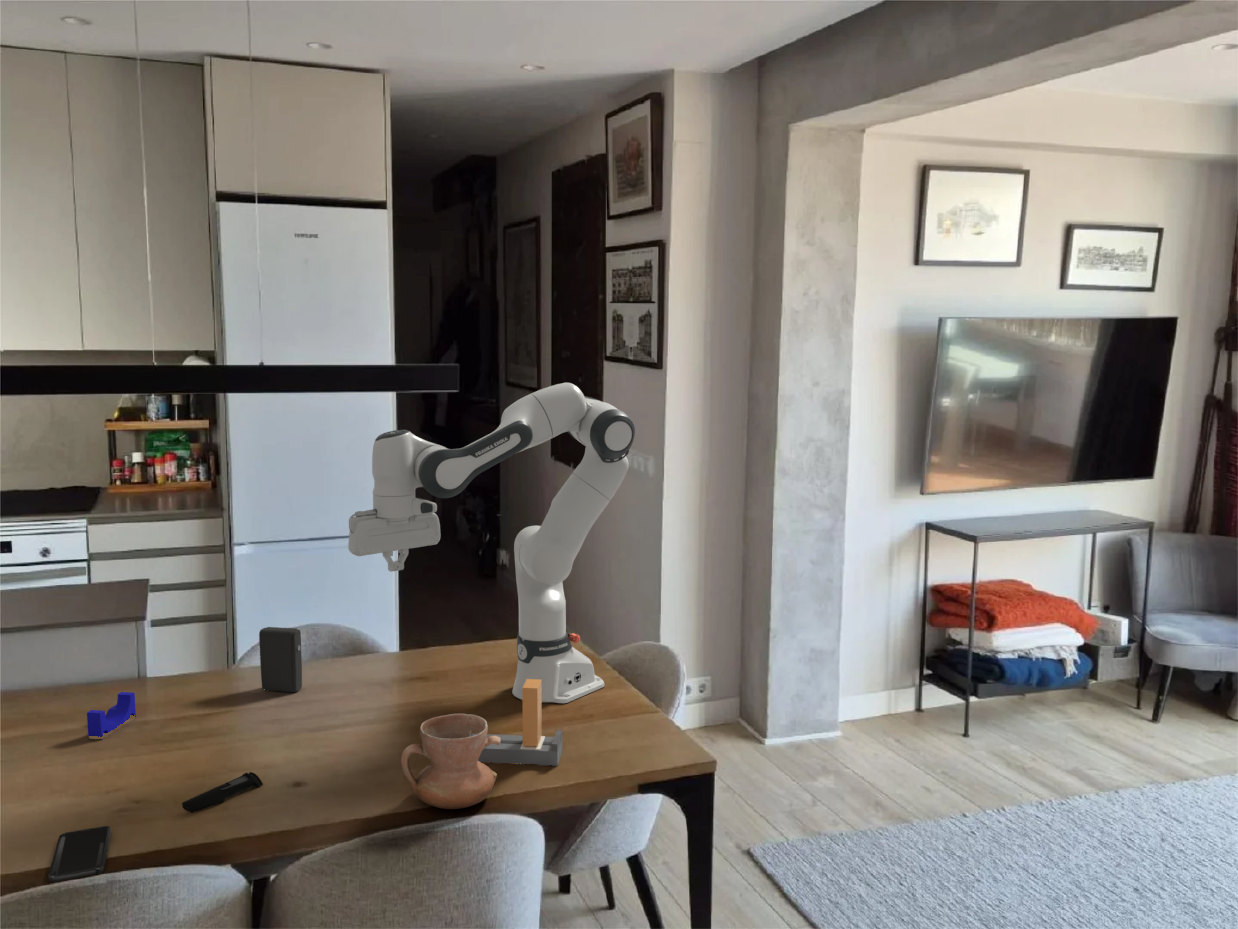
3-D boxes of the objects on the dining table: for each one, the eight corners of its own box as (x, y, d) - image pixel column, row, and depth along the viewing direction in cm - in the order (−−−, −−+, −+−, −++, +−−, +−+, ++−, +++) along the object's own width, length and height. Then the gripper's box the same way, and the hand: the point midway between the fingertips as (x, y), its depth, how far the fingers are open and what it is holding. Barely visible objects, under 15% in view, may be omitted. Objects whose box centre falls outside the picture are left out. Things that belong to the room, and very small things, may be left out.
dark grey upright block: (304, 688, 241) (302, 627, 238) (297, 694, 237) (294, 632, 235) (268, 685, 242) (266, 625, 240) (260, 691, 238) (258, 630, 236)
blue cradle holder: (116, 717, 222) (115, 691, 221) (136, 718, 222) (134, 692, 221) (81, 739, 210) (80, 712, 210) (101, 741, 210) (100, 713, 209)
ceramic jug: (496, 777, 194) (495, 706, 192) (505, 812, 181) (505, 736, 179) (401, 786, 190) (399, 714, 188) (403, 823, 176) (401, 745, 174)
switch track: (458, 761, 201) (457, 740, 200) (466, 747, 208) (466, 726, 207) (557, 766, 199) (557, 744, 199) (562, 751, 206) (562, 730, 206)
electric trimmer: (177, 815, 179) (176, 799, 179) (251, 782, 192) (250, 766, 192) (190, 821, 177) (189, 804, 177) (264, 787, 190) (263, 771, 190)
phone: (47, 878, 157) (60, 833, 170) (47, 885, 157) (60, 839, 170) (103, 868, 160) (111, 824, 173) (104, 875, 160) (112, 831, 173)
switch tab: (522, 745, 200) (522, 687, 199) (527, 735, 205) (526, 679, 204) (537, 746, 200) (537, 688, 199) (541, 736, 205) (541, 679, 203)
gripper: (355, 514, 205) (357, 580, 207) (443, 503, 218) (444, 566, 220) (342, 510, 210) (344, 575, 211) (428, 499, 223) (429, 560, 225)
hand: (396, 570), depth 216 cm, fingers closed
